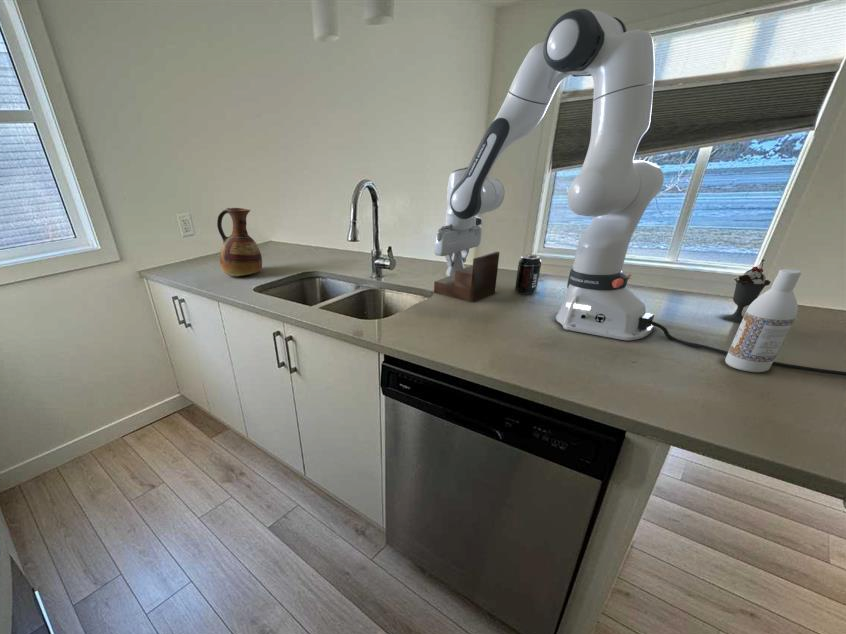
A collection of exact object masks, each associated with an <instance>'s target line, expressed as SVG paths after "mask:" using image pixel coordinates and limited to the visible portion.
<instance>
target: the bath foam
mask: <svg viewBox="0 0 846 634" xmlns="http://www.w3.org/2000/svg"><path fill="white" fill-rule="evenodd" d="M801 275H802V271H801V270H798V269H790V268H784V269H783V268H782V269H779V270H778V274H777V275H776V277H775V279H774V281H773V283H772V286H771V288H770V289H768V290H767V291H765V292H764V293H762V294H760V295H759V296H758V297H757V298H756V299H755V300H754V301H753V302H752V303H751V304H750V305H748V306H747V309H746V310H745V313H744V315H743V319H742V322H740V325H739V326H738V329H737V331H736V334H735V335H734V338H733V340H732V342H731V345H730V347H729V349H728V354H727V355H725V358H724V362H725V363H726V365H728V366H729V367H731V368H733V369H736V370H739V371H743V372H747V373H749V372H750V373H764V372H767V371H769V370H770V368H771V367H772V366H773V365H772V363H773V362H775V359H776V358H777V355H778V354H779V351H780V349H781V348H782V346H783V344H784V341H785V340H786V337H787V336H788V333H789V332H790V330H791V328H792V326H793V324H794V322H795V320H796V318H797V315H798V311H799V306H798V301H797V298H796V296H795V293H794V289H795V287H796V285H797V283H798V281H799V280H800V276H801Z"/></svg>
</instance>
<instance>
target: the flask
mask: <svg viewBox="0 0 846 634" xmlns="http://www.w3.org/2000/svg"><path fill="white" fill-rule="evenodd" d="M451 258H452V261H454V266H451V267H448V266H447V269H446V272H445V275H446V276H447V277H449V276H455V271H458V270H461V269H464V268H466V267H465V263H463V260H462V251H460V252H456V253H453V256H452V257H451Z"/></svg>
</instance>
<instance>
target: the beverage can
mask: <svg viewBox="0 0 846 634" xmlns="http://www.w3.org/2000/svg"><path fill="white" fill-rule="evenodd" d="M540 258H541V255H538V254H524V255H521V258H520V259H519V260H518V264H517V271H516V278H515V287H514V290H515V291H516V292H517V293H518V294H519V295H532V294H533V293H535V292H537V290H538V285H539V279H540V273H541V267H542V260H541V259H540Z"/></svg>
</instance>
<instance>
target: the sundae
mask: <svg viewBox="0 0 846 634" xmlns="http://www.w3.org/2000/svg"><path fill="white" fill-rule="evenodd" d="M765 261H766V259H761V262H760V264H761V267H760V268H759V266H760V264H758V265H757V266H752V267H751V268H750V269H749V270H746V271H745V272H744V273H743V274H742V275H739V276H738V277H735V278H734V279H733V280H734V282H735V288H734V293H733V297H732V301H733V303H734V304H735V305H736V306H737V307H736V310H735V311H734V313H733V314H727V315H726V314H725V315H724V316H722V318H723V319H724V320H726V321H729V322H732V323H733V322H734V323H741V322H742V319H743V317H744V315H742V313H743V310H744V308H746V307H749V306H750V304H751V303H752V302H753V301H754V300H755V299H756V298H758V297H759V296H760V295H761V293H762V291H763V290H764V288H765V287H767V286H769V285H771V281H770V280H769V279H766V276H765V274H764V273H763V272H764V268H763V267H764V262H765Z"/></svg>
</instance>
